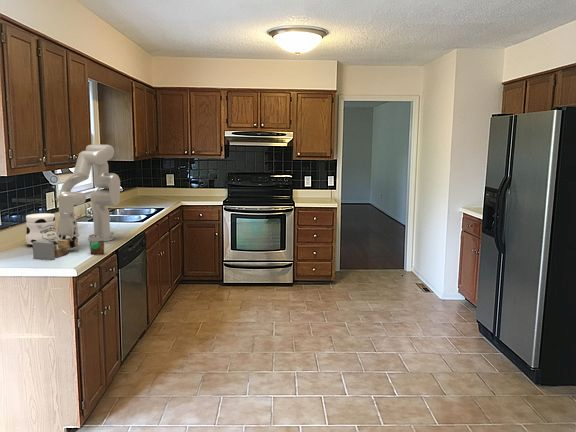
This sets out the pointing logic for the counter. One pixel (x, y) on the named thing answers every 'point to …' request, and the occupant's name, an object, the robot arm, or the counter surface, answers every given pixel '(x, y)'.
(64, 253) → the cradle
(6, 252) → the counter surface
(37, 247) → the wall
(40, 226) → the milk container
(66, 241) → the oak bar
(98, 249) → the food container
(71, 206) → the robot arm
